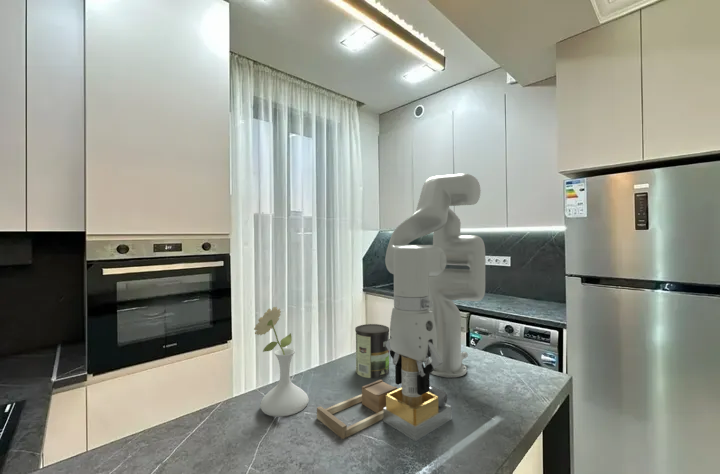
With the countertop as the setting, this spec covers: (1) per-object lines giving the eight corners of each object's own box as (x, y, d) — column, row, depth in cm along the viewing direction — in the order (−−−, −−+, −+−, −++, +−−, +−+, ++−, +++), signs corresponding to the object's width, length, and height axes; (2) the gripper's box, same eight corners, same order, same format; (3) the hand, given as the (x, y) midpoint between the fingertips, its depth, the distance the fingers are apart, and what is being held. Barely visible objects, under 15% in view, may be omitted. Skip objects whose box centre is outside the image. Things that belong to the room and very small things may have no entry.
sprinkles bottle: (423, 405, 69) (422, 342, 70) (422, 415, 65) (420, 348, 66) (402, 403, 70) (401, 341, 71) (400, 412, 66) (399, 347, 67)
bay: (378, 397, 81) (378, 383, 81) (406, 412, 74) (405, 397, 74) (316, 423, 69) (316, 407, 69) (342, 445, 62) (342, 427, 62)
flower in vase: (292, 392, 84) (292, 299, 84) (318, 409, 75) (317, 304, 76) (244, 411, 75) (245, 306, 75) (268, 432, 66) (268, 313, 67)
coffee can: (391, 369, 99) (390, 324, 99) (387, 383, 89) (387, 333, 89) (359, 366, 101) (359, 322, 101) (352, 380, 91) (351, 331, 91)
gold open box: (419, 407, 76) (419, 377, 76) (451, 424, 69) (451, 391, 69) (383, 426, 68) (383, 393, 68) (415, 447, 61) (415, 410, 61)
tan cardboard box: (380, 396, 79) (380, 379, 79) (397, 405, 75) (397, 387, 75) (361, 404, 75) (361, 386, 75) (378, 414, 71) (378, 395, 71)
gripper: (455, 307, 64) (456, 397, 63) (394, 296, 77) (395, 370, 77) (432, 312, 59) (433, 409, 58) (371, 299, 72) (372, 379, 72)
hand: (412, 386), depth 68 cm, fingers open, 5 cm apart
